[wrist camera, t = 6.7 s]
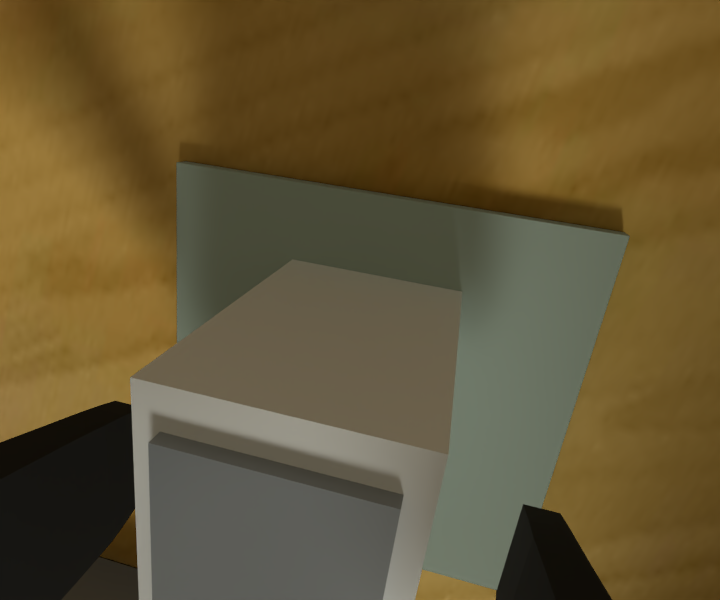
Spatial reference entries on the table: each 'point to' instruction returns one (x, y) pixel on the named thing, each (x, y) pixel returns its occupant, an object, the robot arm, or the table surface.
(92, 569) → the case
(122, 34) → the table surface
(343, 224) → the rubber mat
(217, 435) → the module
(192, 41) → the table surface
